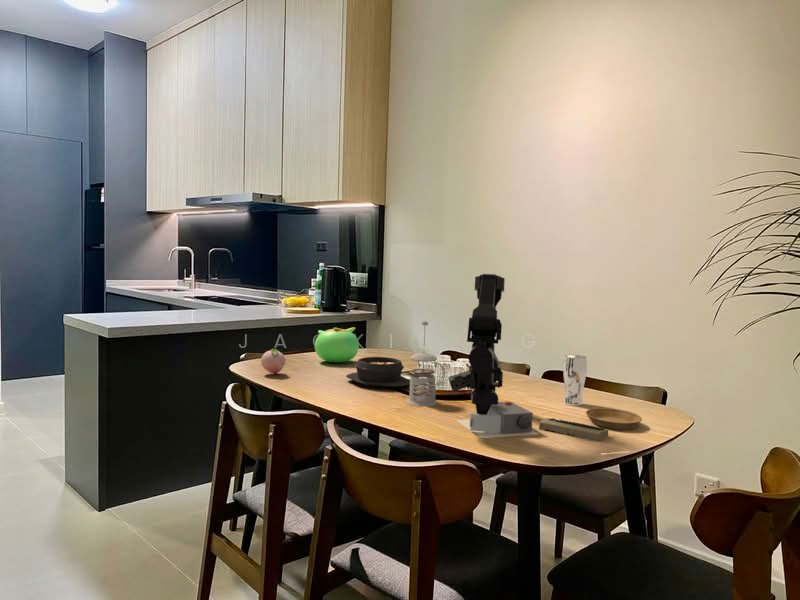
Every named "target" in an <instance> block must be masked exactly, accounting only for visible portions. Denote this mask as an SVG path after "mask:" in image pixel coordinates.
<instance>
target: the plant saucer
mask: <svg viewBox="0 0 800 600" xmlns="http://www.w3.org/2000/svg"><path fill="white" fill-rule="evenodd" d="M585 414H586V417H588V419H589V420H590V421H591V422H592V424H594V425H597V426H598V427H602V426H603V427H602V428H606V427H607V428H606V429H612V428H613V429H614V430H631V429H633V428H635V427H637V426H638V425H639V424H640V423H641V422H642V421H643V418H642V417H641V416H640V415H638V414H636V413H633V412H631V411H627V410H622V409H615V408H606V407H605V408H599V407H598V408H591V409H587V410H586V411H585ZM630 428H631V429H630Z"/></svg>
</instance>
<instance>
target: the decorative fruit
mask: <svg viewBox="0 0 800 600" xmlns="http://www.w3.org/2000/svg"><path fill="white" fill-rule="evenodd" d="M260 361H261V365H262V366H261V367H262V368H263V369H264V370H266V371H267V372H268V373H271V374H272V373H276V374H278V373H280V372H281V371H282V370H283V368H284V367H285V364H286V357H285V355H284V354H283V353H282V352H280V351H279V350H278V349H276V348H275V347H273V348H271V349H270V350H267V351H265V352H264V353H263V354H262V356H261V359H260Z"/></svg>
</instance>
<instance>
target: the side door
mask: <svg viewBox="0 0 800 600" xmlns="http://www.w3.org/2000/svg"><path fill="white" fill-rule="evenodd" d="M503 424H504V416H499V415H485V414H477V413H470V430H469V431H470V432H472V431H483V432H496V433H503Z"/></svg>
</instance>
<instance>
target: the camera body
mask: <svg viewBox="0 0 800 600" xmlns="http://www.w3.org/2000/svg"><path fill="white" fill-rule="evenodd" d="M487 415H499V416H504V424H503V434H509V433H524V432H532V430H533V412H532V411H530V410H527V409H526V408H524V407H522V406H520V405H518V404H515V403H513V401H509V400H506V401H505V400H504V401H498V404H497V405H491V407H490V409H489V411H488V413H487Z"/></svg>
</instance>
